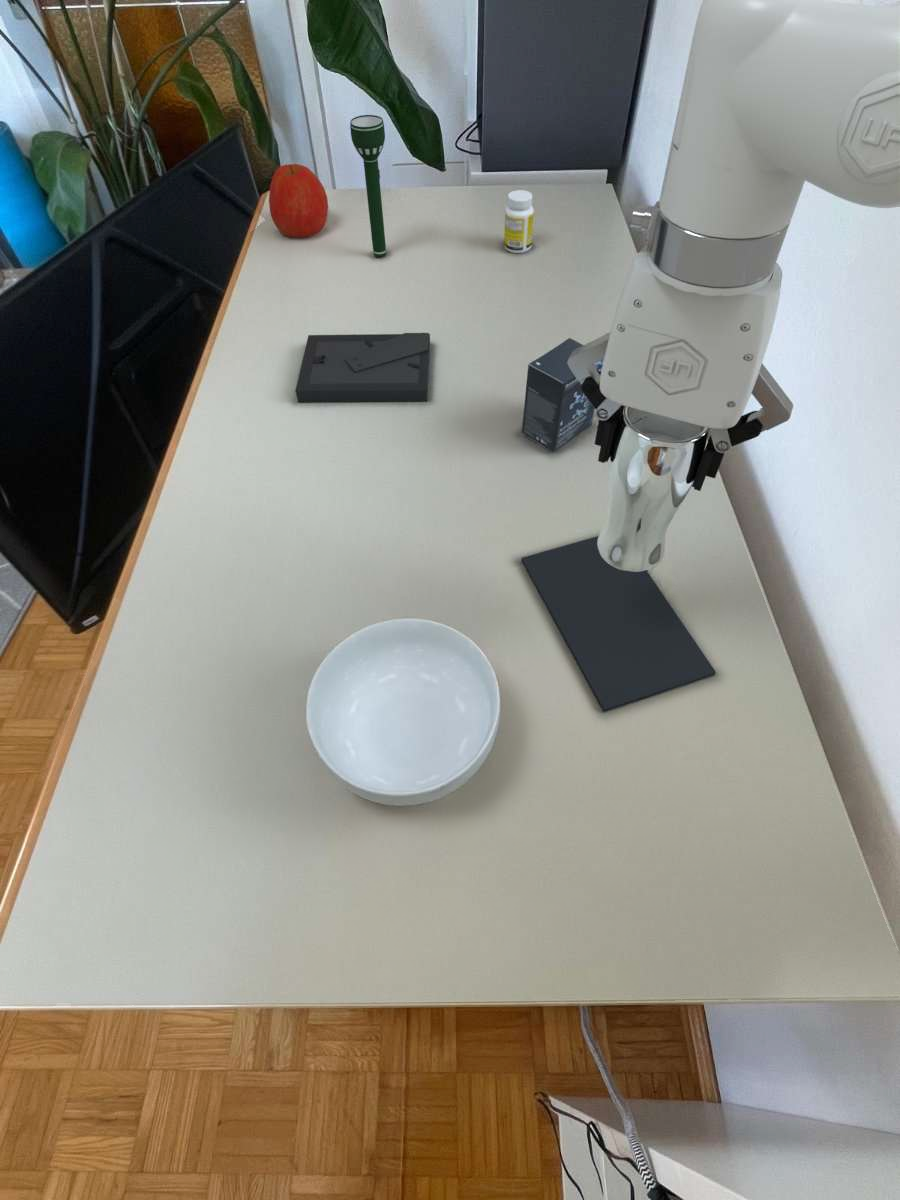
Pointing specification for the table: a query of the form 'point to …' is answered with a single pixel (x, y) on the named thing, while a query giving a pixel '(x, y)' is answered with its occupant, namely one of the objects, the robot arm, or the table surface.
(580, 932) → the table surface
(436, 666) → the cereal bowl
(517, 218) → the supplement bottle
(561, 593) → the placemat
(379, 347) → the picture frame
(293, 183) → the apple
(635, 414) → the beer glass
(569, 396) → the box
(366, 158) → the flashlight
